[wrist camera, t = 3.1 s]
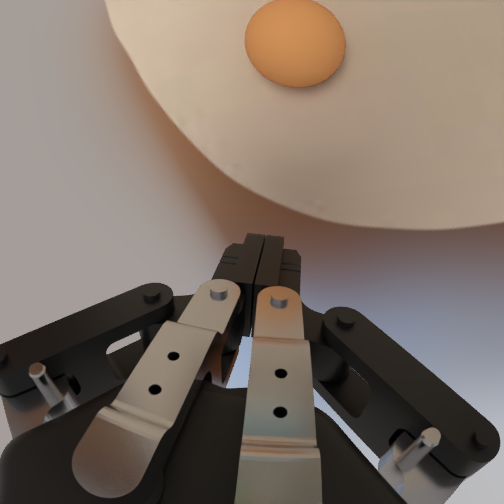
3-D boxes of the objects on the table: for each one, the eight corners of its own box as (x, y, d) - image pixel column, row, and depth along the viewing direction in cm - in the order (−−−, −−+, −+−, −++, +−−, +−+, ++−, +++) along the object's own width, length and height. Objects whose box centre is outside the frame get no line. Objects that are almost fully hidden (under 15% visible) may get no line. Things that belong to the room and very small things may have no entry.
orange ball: (341, 15, 16) (353, -10, 11) (337, 92, 19) (349, 92, 14) (254, 9, 17) (237, -16, 12) (251, 85, 20) (233, 83, 15)
